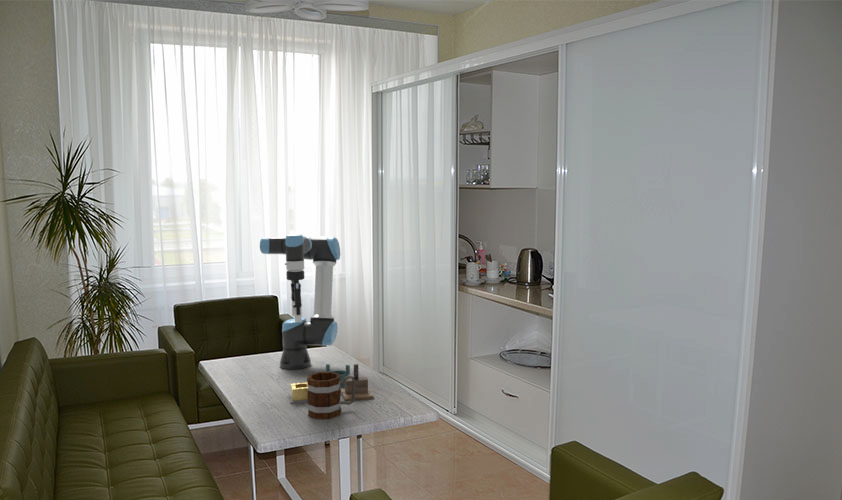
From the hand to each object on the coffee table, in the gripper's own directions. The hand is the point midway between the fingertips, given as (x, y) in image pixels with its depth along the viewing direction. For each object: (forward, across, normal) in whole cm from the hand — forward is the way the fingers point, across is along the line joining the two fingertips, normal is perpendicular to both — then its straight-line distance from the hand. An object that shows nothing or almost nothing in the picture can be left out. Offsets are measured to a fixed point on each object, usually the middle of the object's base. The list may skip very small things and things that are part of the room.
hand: (296, 319), depth 286 cm
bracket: (+32, -4, +18) cm, 37 cm away
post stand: (+32, +14, +23) cm, 42 cm away
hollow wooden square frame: (+31, +12, 0) cm, 33 cm away
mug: (+32, +32, +10) cm, 46 cm away
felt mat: (+32, +12, 0) cm, 34 cm away
